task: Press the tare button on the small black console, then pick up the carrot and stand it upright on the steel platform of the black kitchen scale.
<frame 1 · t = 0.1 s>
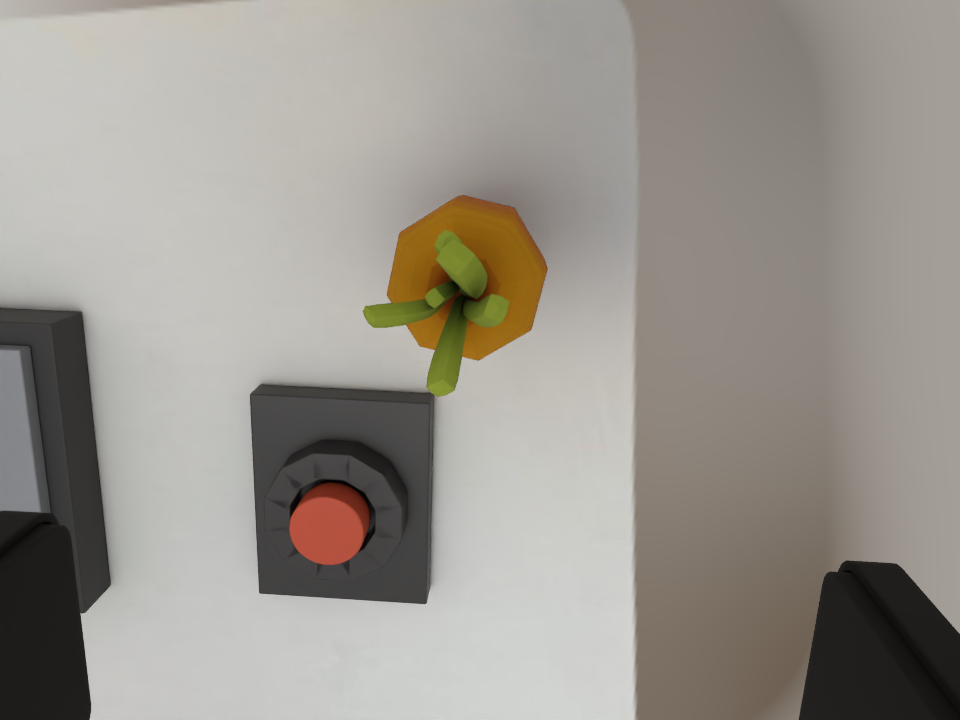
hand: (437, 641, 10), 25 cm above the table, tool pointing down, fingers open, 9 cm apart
tare button: (330, 523, 34), point 3 cm above the table, slide at 0.1 cm
carrot: (484, 239, 34), on the table
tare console: (347, 489, 37), on the table
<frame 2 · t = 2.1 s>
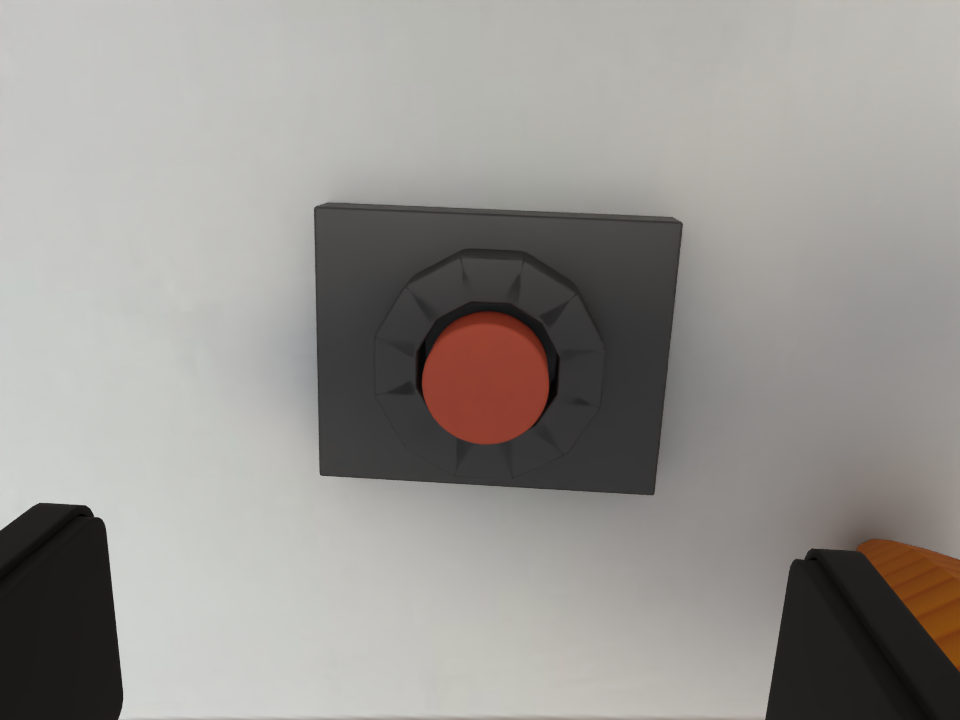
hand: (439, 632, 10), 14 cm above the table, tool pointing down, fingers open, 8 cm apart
tare button: (486, 376, 20), point 3 cm above the table, slide at 0.1 cm
carrot: (864, 545, 25), on the table
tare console: (492, 344, 24), on the table
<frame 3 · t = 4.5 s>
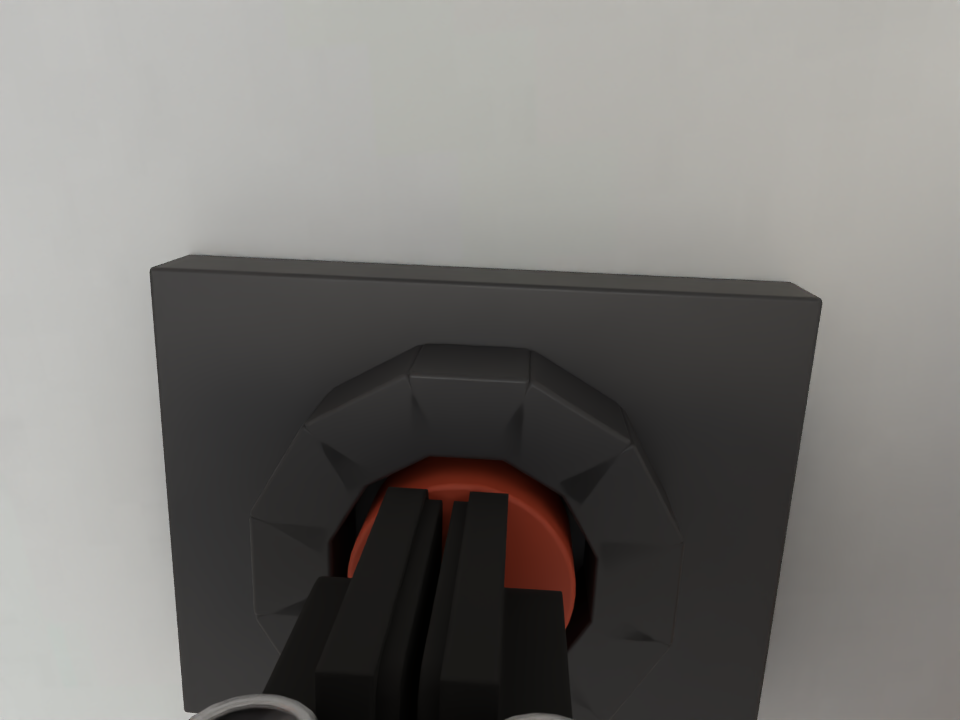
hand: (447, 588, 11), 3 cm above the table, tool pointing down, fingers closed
tare button: (464, 562, 12), point 2 cm above the table, slide at -0.8 cm, touching gripper
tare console: (475, 490, 14), on the table
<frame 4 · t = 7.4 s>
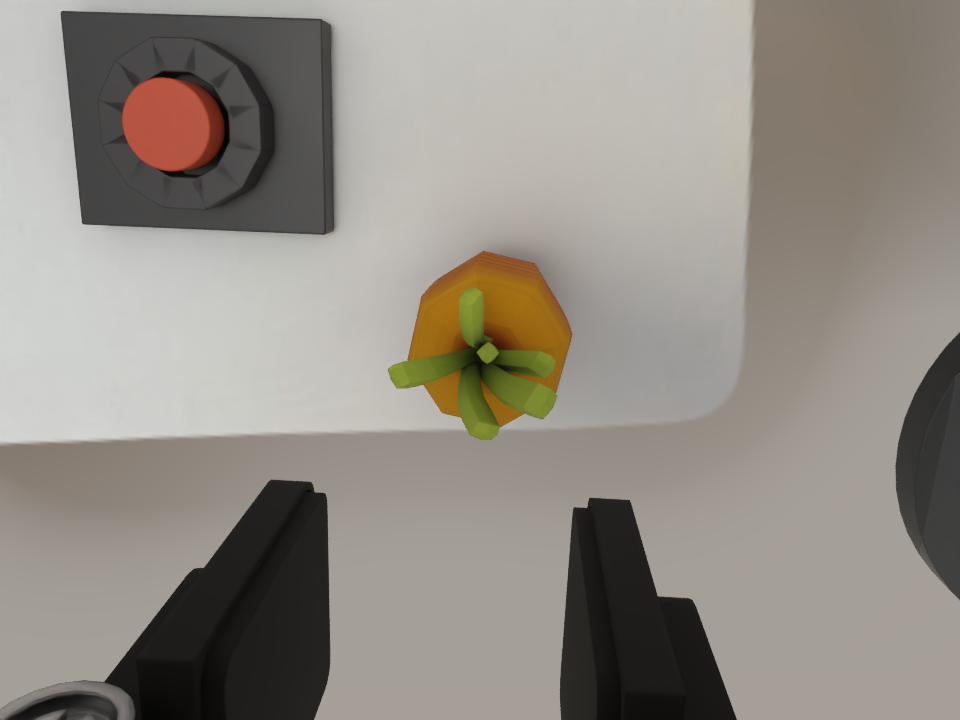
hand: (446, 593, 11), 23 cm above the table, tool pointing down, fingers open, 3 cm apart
tare button: (174, 125, 29), point 3 cm above the table, slide at 0.1 cm
carrot: (499, 285, 33), on the table
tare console: (210, 126, 32), on the table
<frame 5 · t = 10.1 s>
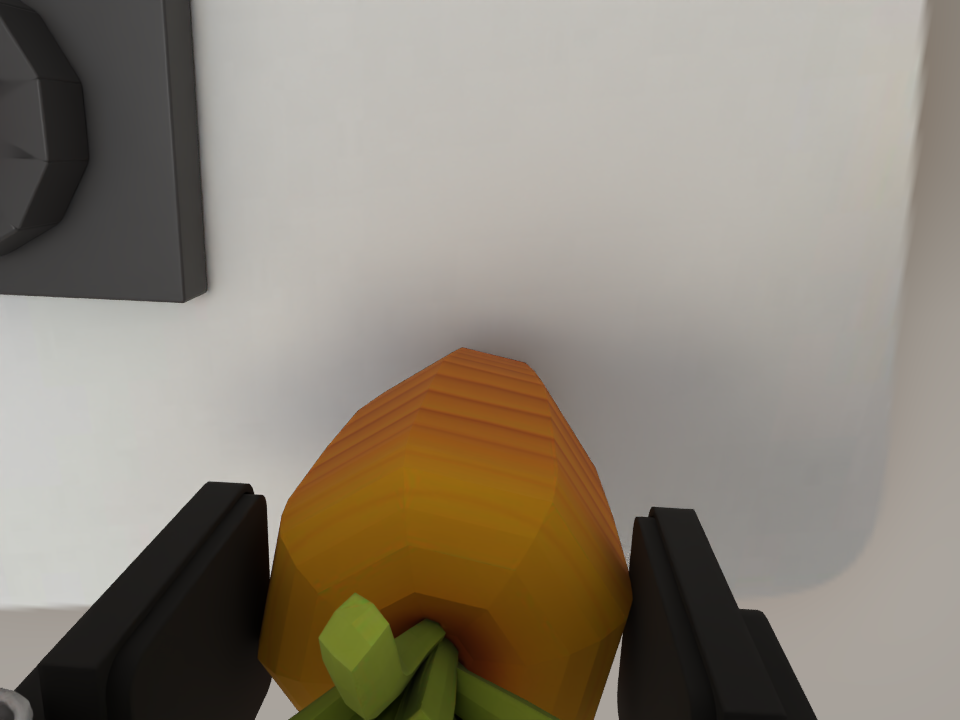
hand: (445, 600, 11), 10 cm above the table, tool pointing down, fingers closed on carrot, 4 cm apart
carrot: (484, 380, 20), on the table, touching gripper
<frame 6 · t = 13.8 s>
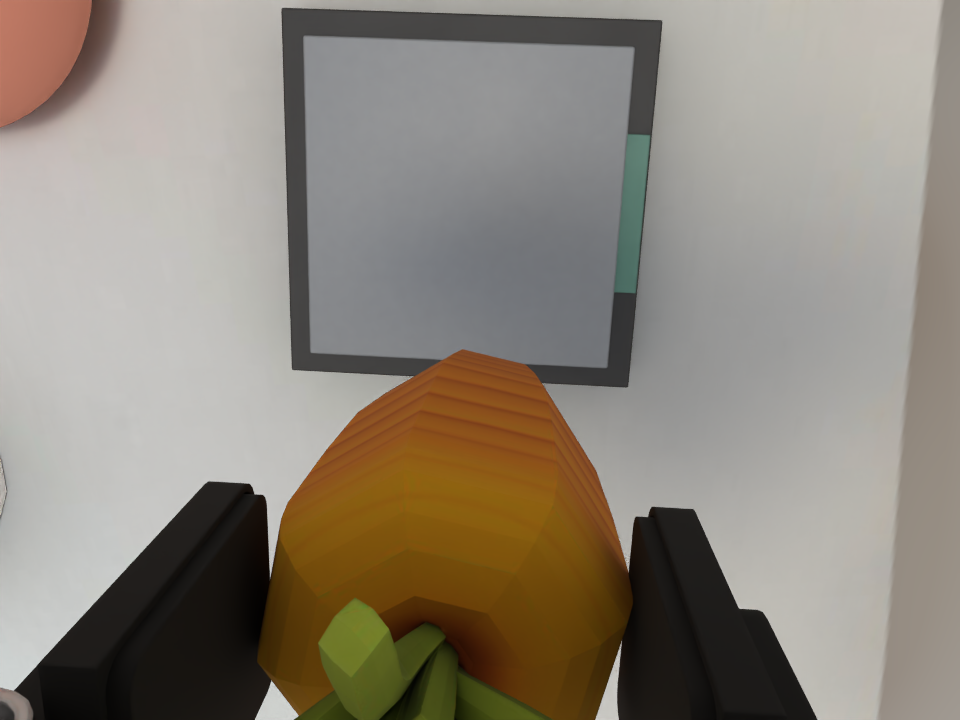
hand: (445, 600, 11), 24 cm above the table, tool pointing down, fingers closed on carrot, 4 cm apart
scale: (468, 202, 33), on the table
carrot: (484, 381, 20), point 14 cm above the table, touching gripper
when the fingers open (13 cm above the table, at t = 17.6 s): carrot stays where it is, resting on scale.
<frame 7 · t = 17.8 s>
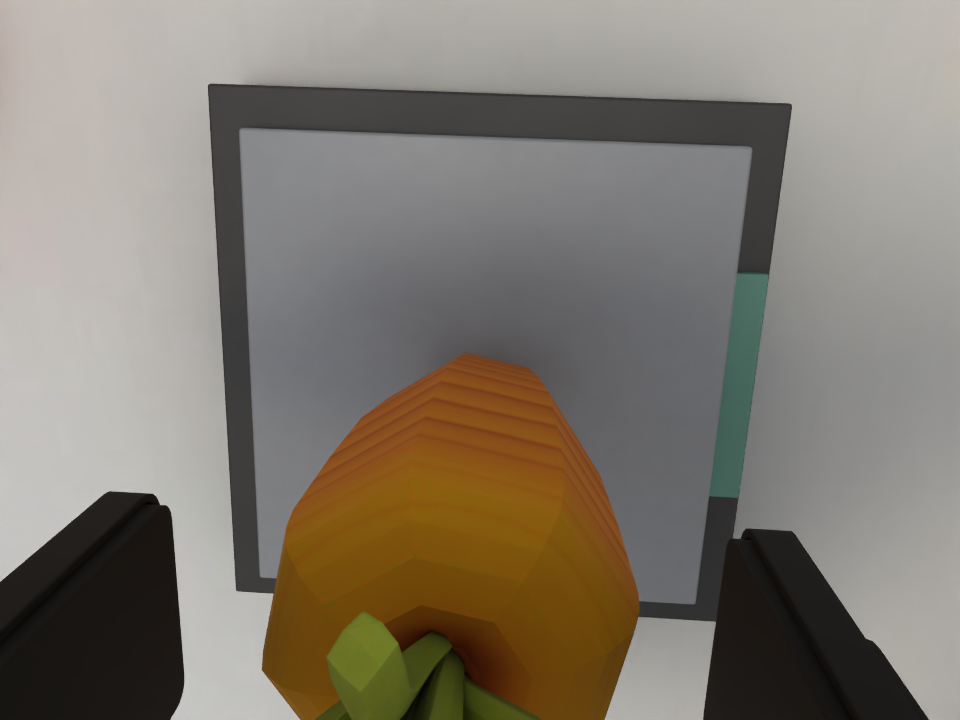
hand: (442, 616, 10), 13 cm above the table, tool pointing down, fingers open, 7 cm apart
scale: (488, 350, 23), on the table
carrot: (486, 384, 20), point 3 cm above the table, touching scale
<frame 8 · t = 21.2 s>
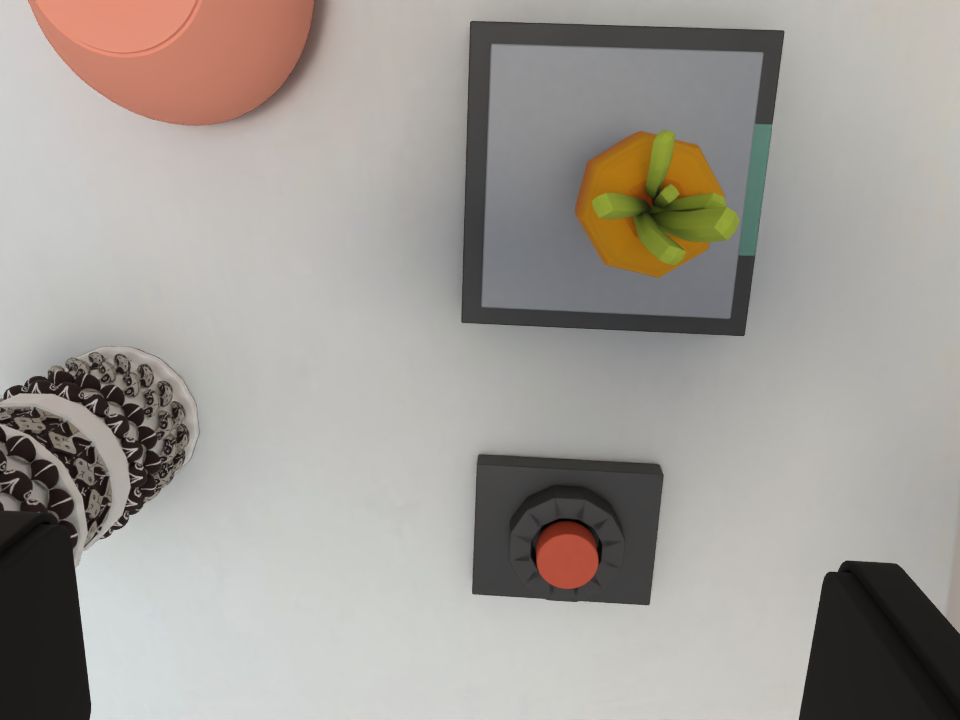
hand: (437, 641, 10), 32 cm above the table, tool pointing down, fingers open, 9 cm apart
tare button: (566, 554, 41), point 3 cm above the table, slide at 0.1 cm
scale: (608, 182, 39), on the table
patterned cylindrical tower: (127, 417, 45), on the table
carrot: (616, 188, 37), point 3 cm above the table, touching scale
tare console: (563, 524, 45), on the table
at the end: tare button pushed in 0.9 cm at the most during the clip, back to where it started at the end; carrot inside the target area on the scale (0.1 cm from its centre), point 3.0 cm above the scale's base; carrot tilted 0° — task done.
